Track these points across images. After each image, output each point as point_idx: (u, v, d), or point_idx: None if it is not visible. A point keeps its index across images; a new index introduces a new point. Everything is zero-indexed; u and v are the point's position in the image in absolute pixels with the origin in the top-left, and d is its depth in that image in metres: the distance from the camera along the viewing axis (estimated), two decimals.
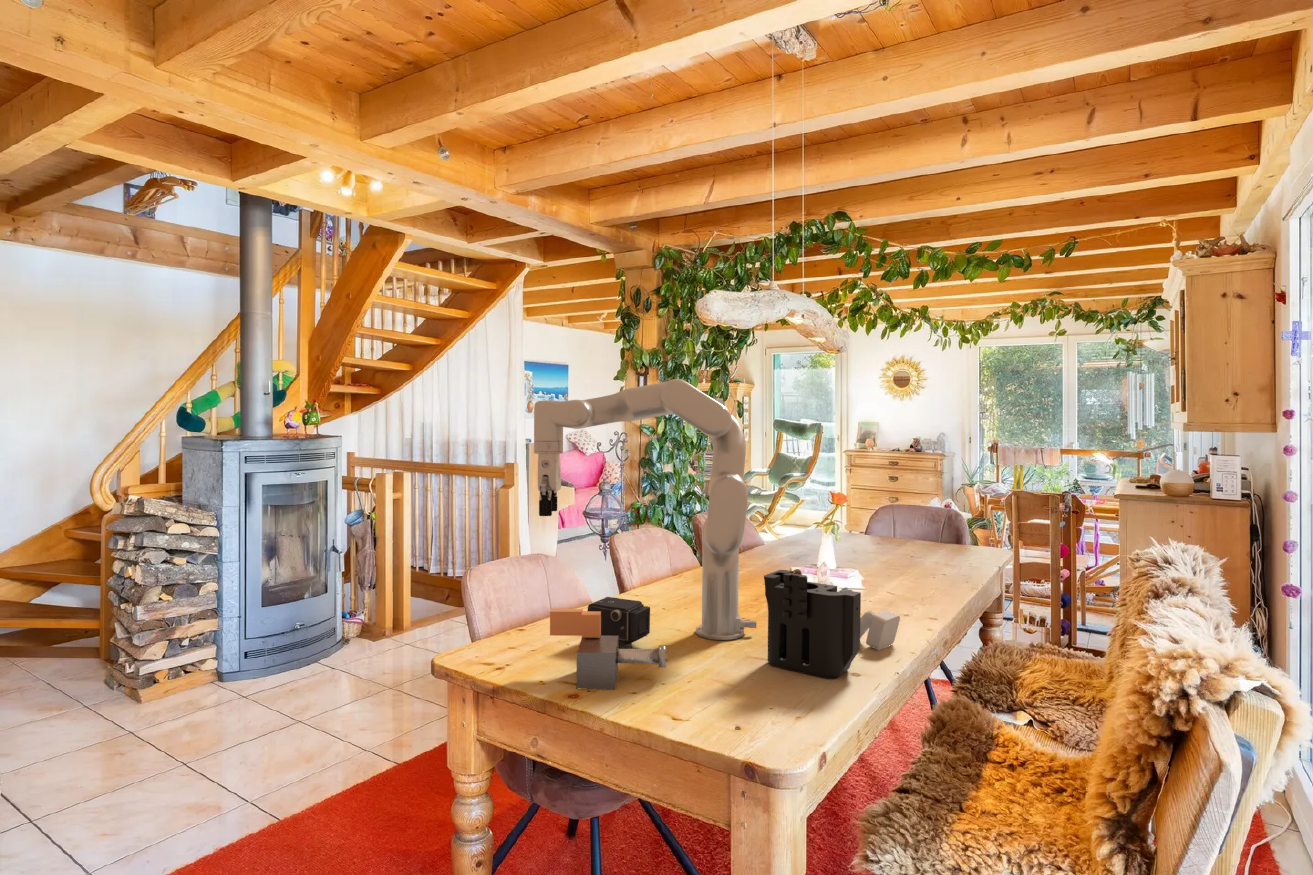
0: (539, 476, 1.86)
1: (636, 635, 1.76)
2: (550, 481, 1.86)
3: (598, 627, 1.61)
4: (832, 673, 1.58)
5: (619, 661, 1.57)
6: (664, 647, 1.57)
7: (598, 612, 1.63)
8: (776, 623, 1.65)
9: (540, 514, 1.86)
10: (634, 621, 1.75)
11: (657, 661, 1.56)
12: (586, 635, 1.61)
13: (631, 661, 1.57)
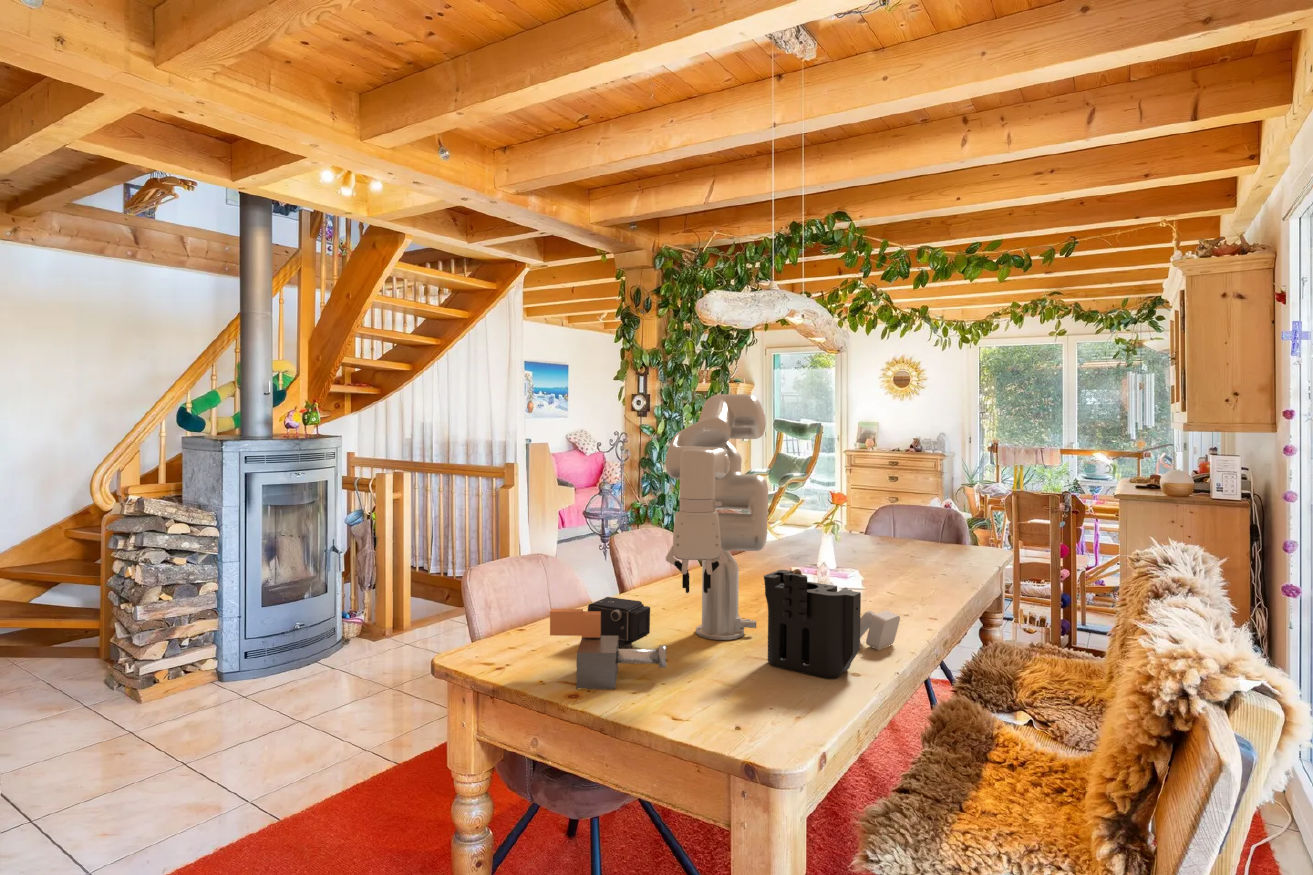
0: (720, 540, 1.56)
1: (636, 635, 1.76)
2: None
3: (598, 627, 1.61)
4: (832, 673, 1.58)
5: (619, 661, 1.57)
6: (664, 647, 1.57)
7: (598, 612, 1.63)
8: (776, 623, 1.65)
9: (707, 591, 1.56)
10: (634, 621, 1.75)
11: (657, 661, 1.56)
12: (586, 635, 1.61)
13: (631, 661, 1.57)
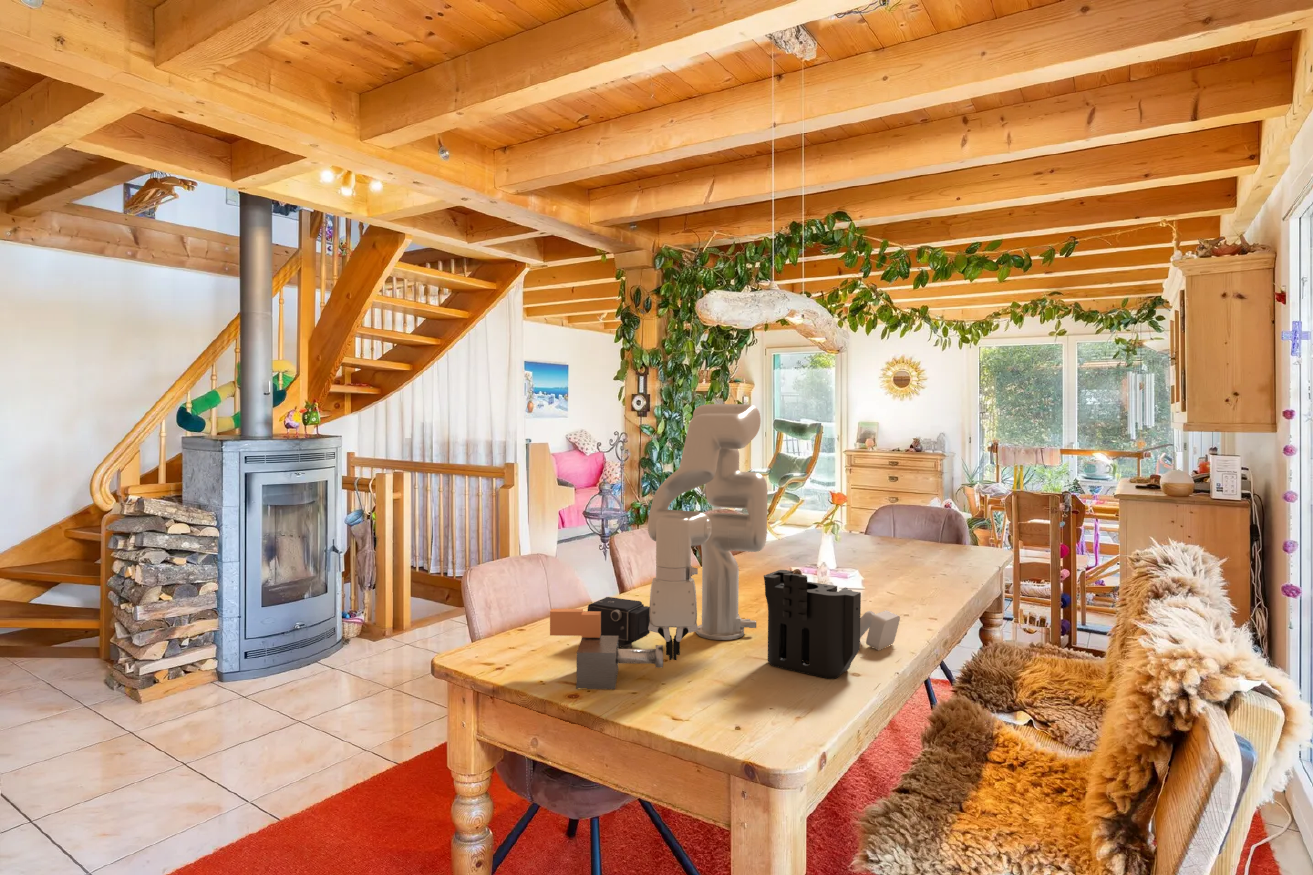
0: (696, 608, 1.56)
1: (636, 635, 1.76)
2: None
3: (598, 627, 1.61)
4: (832, 673, 1.58)
5: (616, 661, 1.57)
6: (661, 647, 1.57)
7: (598, 612, 1.63)
8: (776, 623, 1.65)
9: (676, 658, 1.56)
10: (634, 621, 1.75)
11: (654, 661, 1.56)
12: (586, 635, 1.61)
13: (628, 661, 1.57)
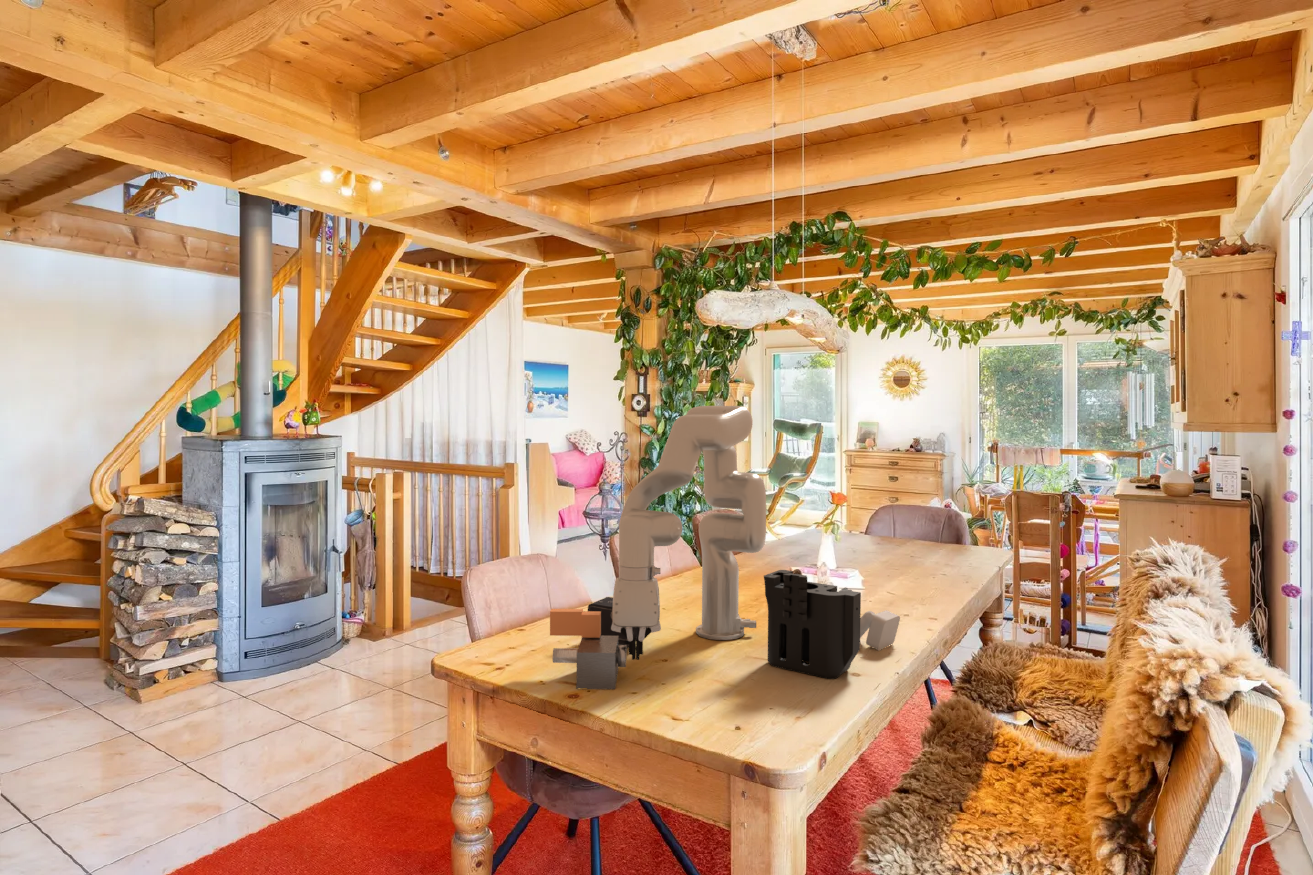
0: (658, 607, 1.56)
1: (636, 635, 1.76)
2: None
3: (598, 627, 1.61)
4: (832, 673, 1.58)
5: None
6: (624, 647, 1.57)
7: (598, 612, 1.63)
8: (776, 623, 1.65)
9: None
10: None
11: (616, 661, 1.56)
12: (586, 635, 1.61)
13: None
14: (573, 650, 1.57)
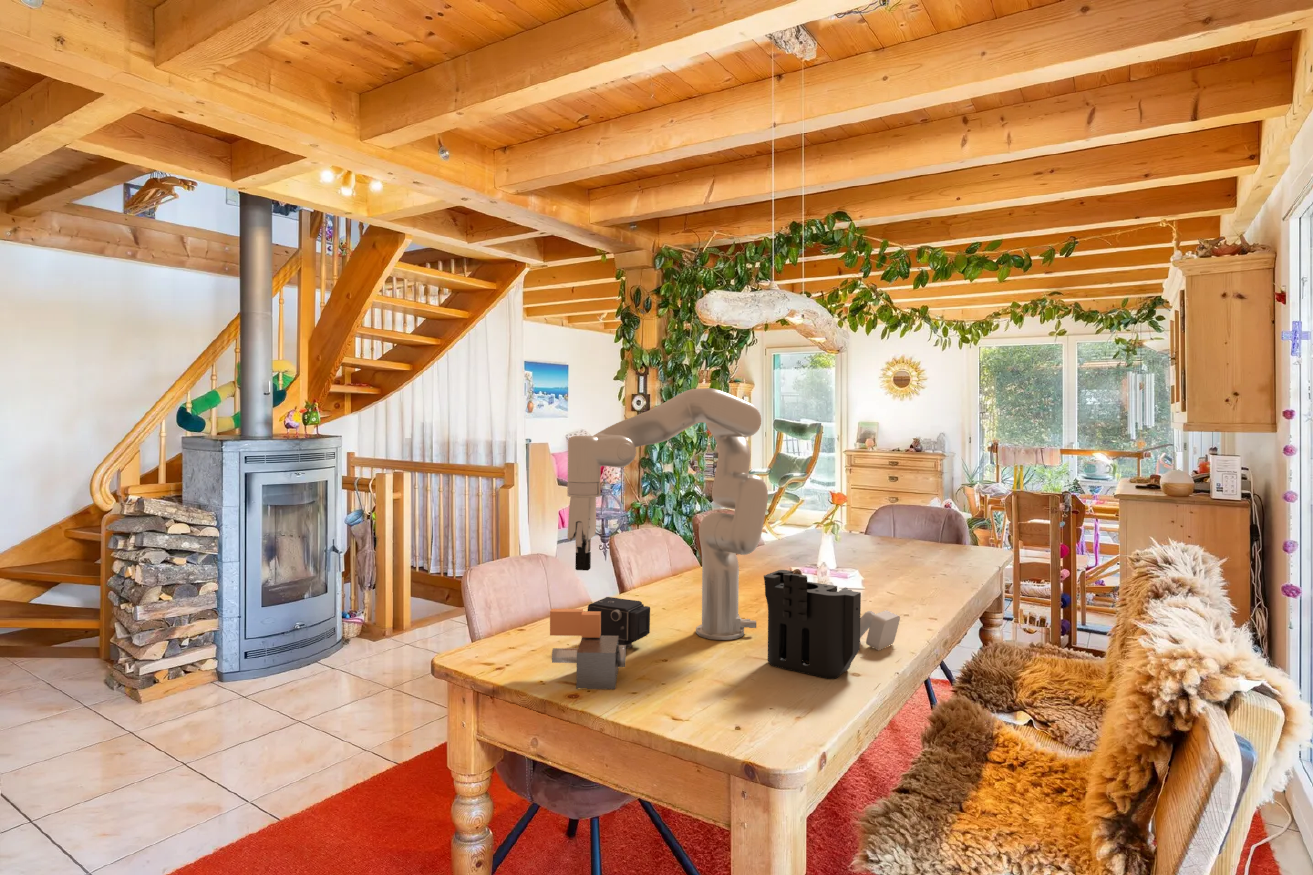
0: None
1: (636, 635, 1.76)
2: None
3: (598, 627, 1.61)
4: (832, 673, 1.58)
5: None
6: (623, 647, 1.57)
7: (598, 612, 1.63)
8: (776, 623, 1.65)
9: None
10: (634, 621, 1.75)
11: (616, 661, 1.56)
12: (586, 635, 1.61)
13: None
14: (572, 650, 1.57)
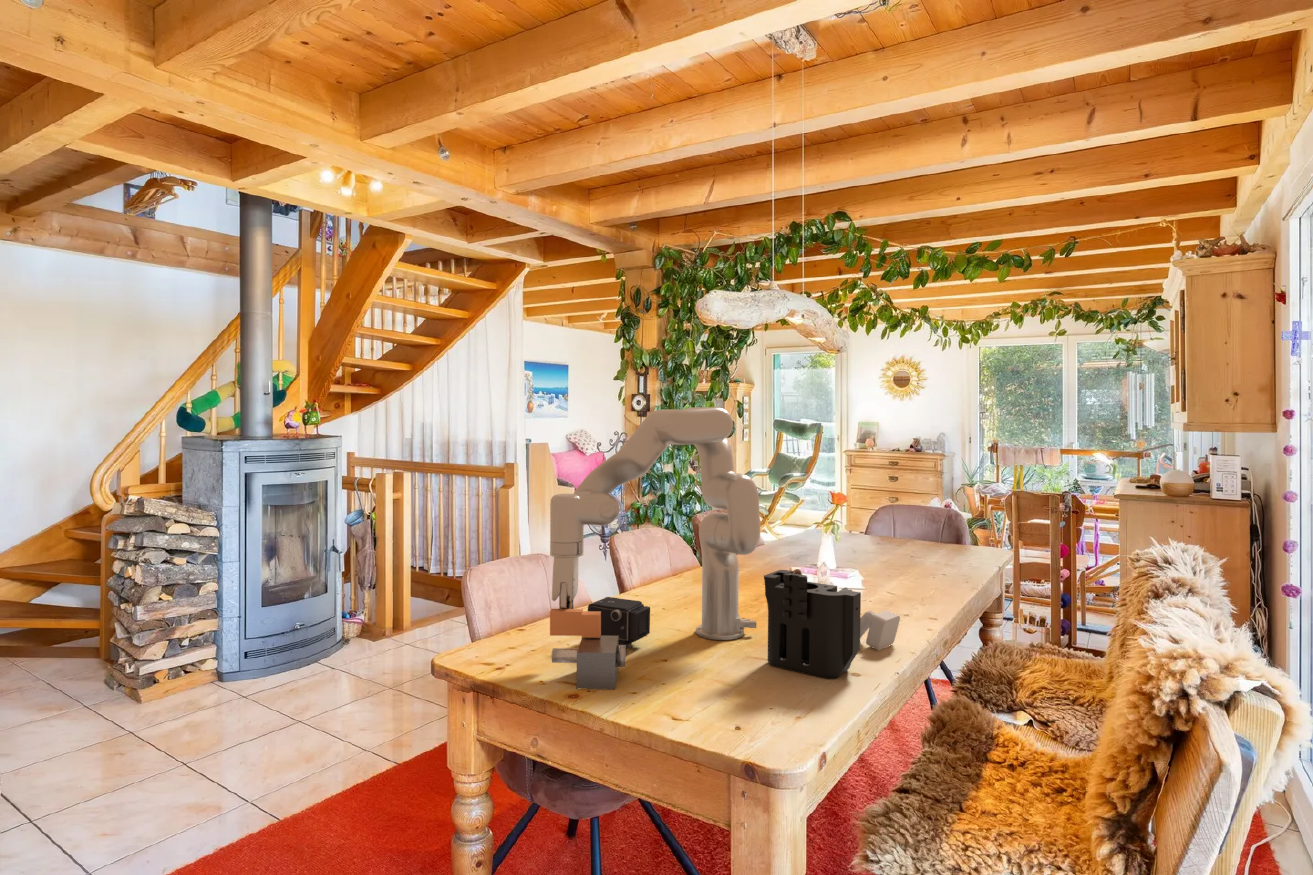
0: None
1: (636, 635, 1.76)
2: None
3: (598, 627, 1.61)
4: (832, 673, 1.58)
5: None
6: (623, 647, 1.57)
7: (598, 612, 1.63)
8: (776, 623, 1.65)
9: None
10: (634, 621, 1.75)
11: (616, 661, 1.56)
12: (586, 636, 1.61)
13: None
14: (572, 650, 1.57)
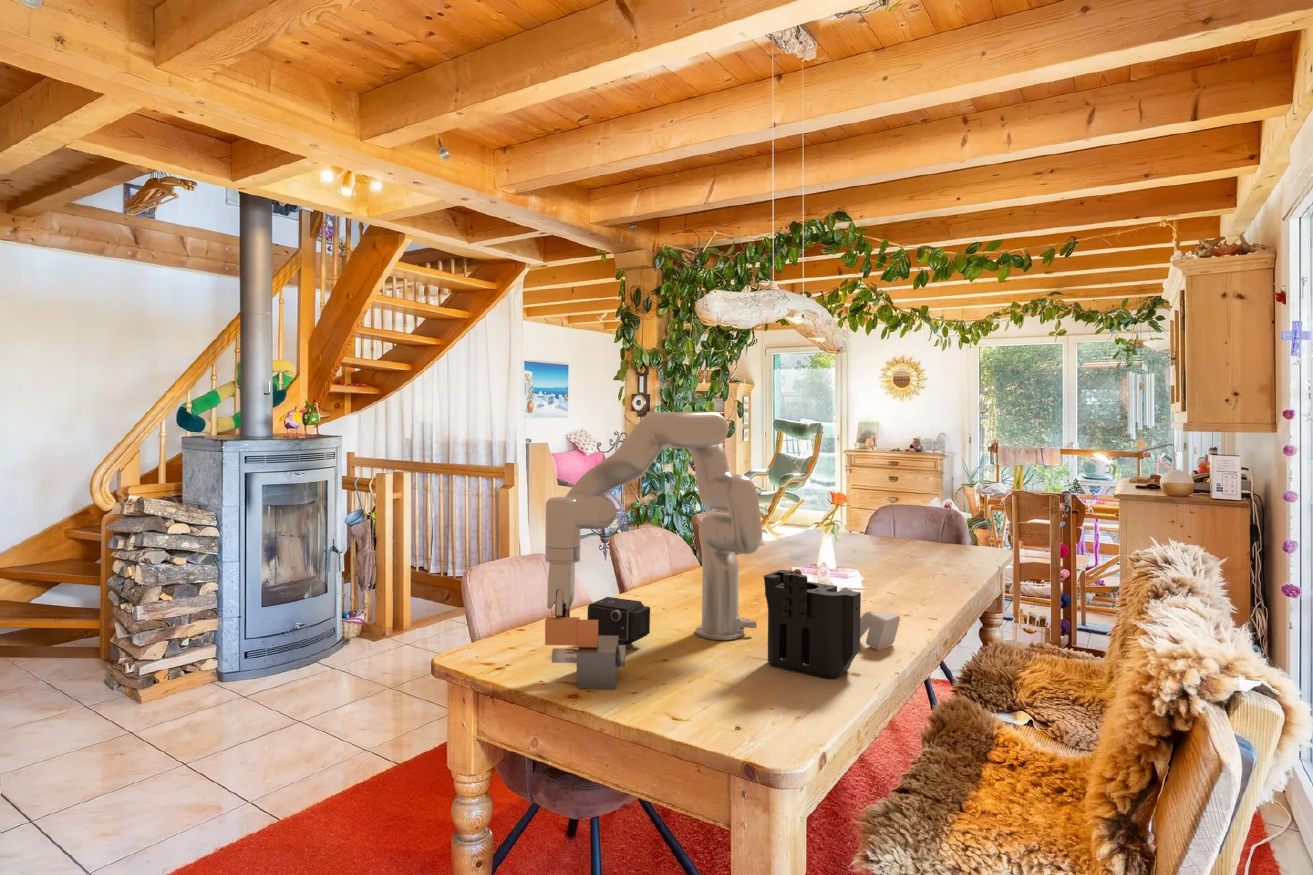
0: None
1: (636, 635, 1.76)
2: None
3: (595, 636, 1.54)
4: (832, 673, 1.58)
5: None
6: (623, 647, 1.57)
7: (595, 620, 1.56)
8: (776, 623, 1.65)
9: None
10: (634, 621, 1.75)
11: (616, 661, 1.56)
12: (583, 645, 1.54)
13: None
14: (572, 650, 1.57)
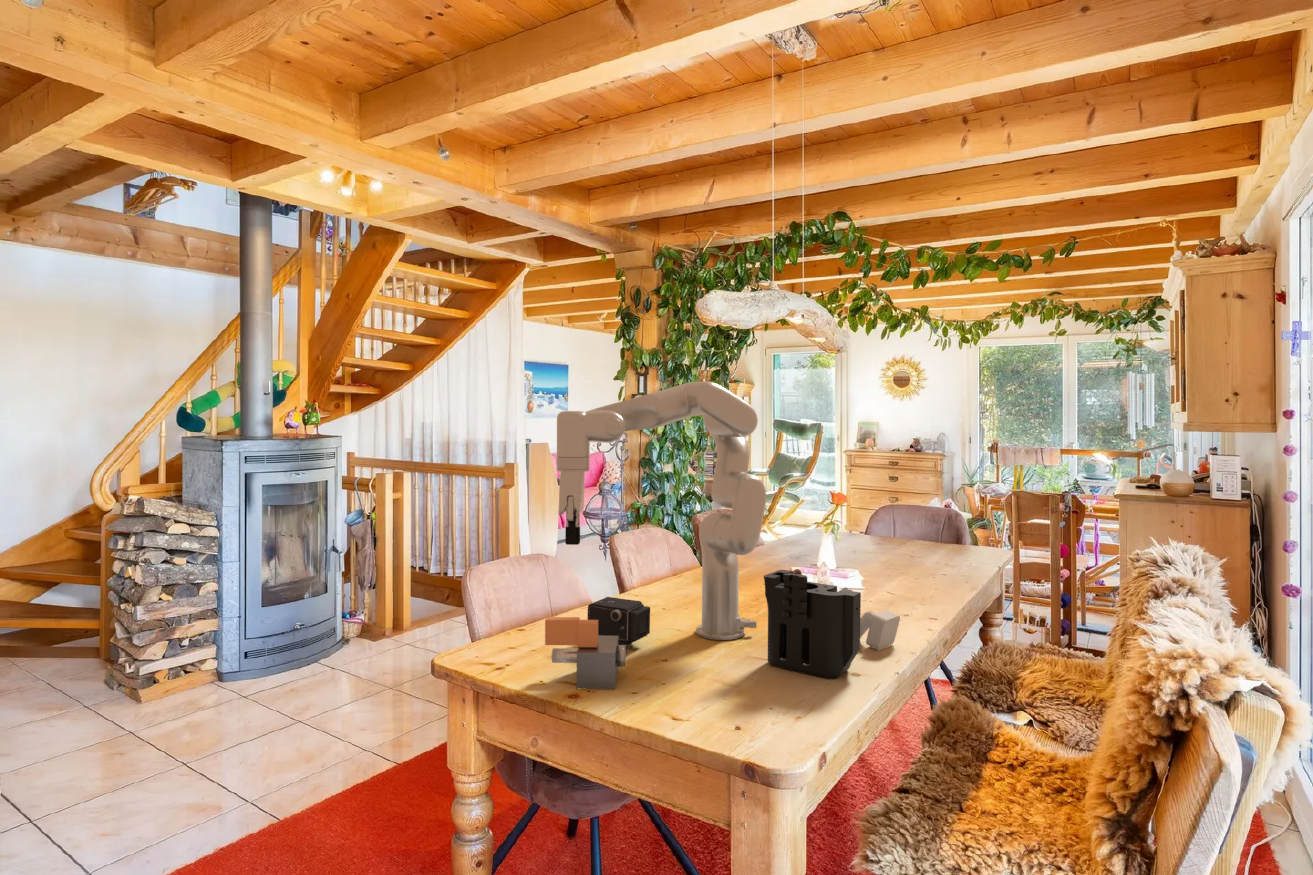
0: None
1: (636, 635, 1.76)
2: None
3: (595, 636, 1.54)
4: (832, 673, 1.58)
5: None
6: (623, 647, 1.57)
7: (595, 621, 1.56)
8: (776, 623, 1.65)
9: None
10: (634, 621, 1.75)
11: (616, 661, 1.56)
12: (583, 645, 1.54)
13: None
14: (572, 650, 1.57)
